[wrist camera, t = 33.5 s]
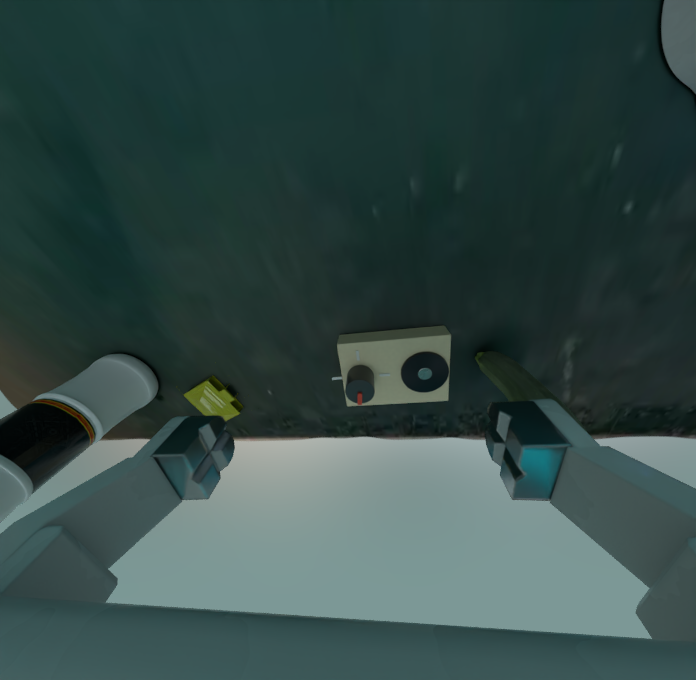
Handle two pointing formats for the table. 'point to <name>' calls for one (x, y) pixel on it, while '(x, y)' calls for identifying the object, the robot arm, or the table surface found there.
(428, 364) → the burner
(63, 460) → the vodka
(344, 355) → the hot plate
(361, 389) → the hob knob
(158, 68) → the table surface
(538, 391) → the vegetable
